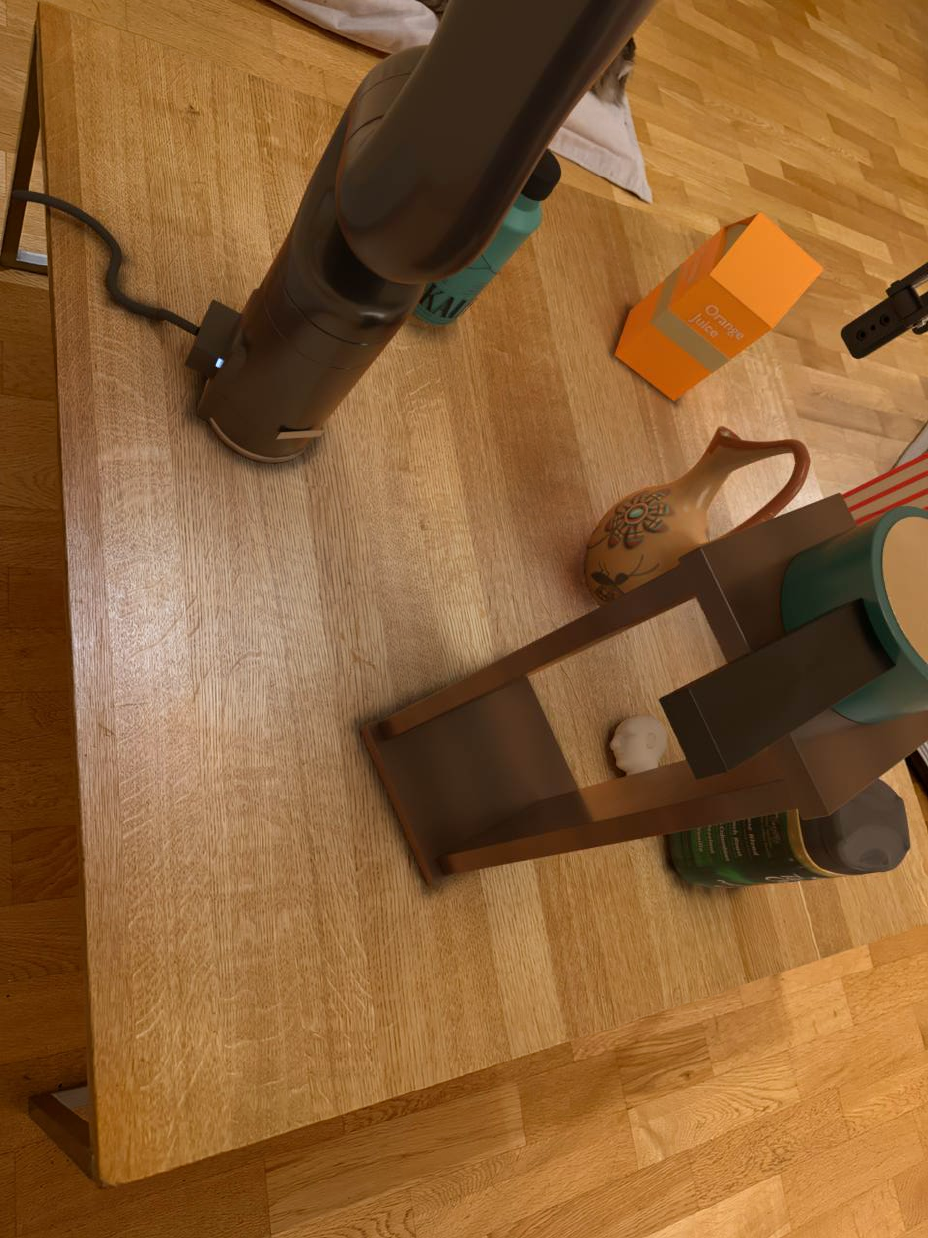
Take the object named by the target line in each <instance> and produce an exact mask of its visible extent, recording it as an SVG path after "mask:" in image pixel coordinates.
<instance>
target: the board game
mask: <svg viewBox="0 0 928 1238" xmlns="http://www.w3.org/2000/svg"><path fill="white" fill-rule="evenodd" d="M841 495H842V497H843V499H844V501H845V503H846V505H847V507H848V508H849V510H850V512H851V514H852V516H853V518H854V520H855V522H856V524H857V525H858V524H860V523H863V522H865V521H867V520H869V519H871V518H873V517H875V516H877V515H880V514H882V513H884V512H886V511H888V510H890V509H892V508H895V507H899V506H914V507H919V508H922V509H925V510H927V511H928V451H927V452H925V453H923V454H921V455H918V456H917V457H915V458H913V459H911V460H909V461H907V462H904V463H903V464H900V465H898V466H896V467H894V468H892V469H890V470H888V471H887V472H885V473H882V474H880V475H878V476H876V477H874V478H872V479H870V480H868V481H867V482H864V483H862V484H860V485H858V486H856V487H854V488H852V489H850V490H847V491H846V492H844V493H841Z"/></svg>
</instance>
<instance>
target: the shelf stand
mask: <svg viewBox="0 0 928 1238" xmlns="http://www.w3.org/2000/svg"><path fill="white" fill-rule="evenodd" d="M856 525H857V524H856V522H855V520H854V518H853V516H852V514H851V512H850V510H849V508H848V507H847V505H846V503H845V501H844V499H843V497H842V493H841V492H837V493H835V494H832V495H830V496H829V495H828V496H827V497H824V498H822V499H821V498H820V499H819V500H816V501H814V502H811V503H809V504H806V505H803V506H800V507H798V508H796V509H794V510H791V511H787V512H785V513H782V514H780V515H776V516H775V517H774V518H772V519H770V520H767V521H764V522H762V523H759V524H757V525H754V526H752V527H749V528H746V529H744V530H741V531H739V532H736V533H733V534H731V535H728V536H726V537H723V538H720V539H718V540H715V541H713V542H710V543H708V544H705V545H702V546H700V547H698V548H696V549H694V550H692V551H690V552H688V553H686V554H685V555H683V556H681V557H679V558H678V561H679V563H680V565H679V566H677V567H675V568H673V569H671V570H669V571H667V572H665V573H663V574H661V575H660V576H658V577H656V578H654V579H652V580H650V581H648V582H646V583H644V584H642V585H640V586H639V587H637V588H635V589H633V590H631V591H629V592H627V593H625V594H623V595H621V596H619V597H618V598H616V599H614V600H612V601H610V602H608V603H606V604H604V605H602V606H598V607H596V608H595V609H593V610H591V611H589V612H587V613H585V614H583V615H581V616H579V617H578V618H575V619H573V620H572V621H570V622H568V623H566V624H564V625H562V626H560V627H558V628H556V629H554V630H552V631H551V632H548V633H547V634H545V635H542V636H541V637H539V638H537V639H536V640H534V641H531V642H529V643H527V644H525V645H524V646H522V647H520V648H518V649H516V650H515V651H512V652H511V653H509V654H507V655H505V656H503V657H501V658H499V659H497V660H495V661H493V662H491V663H490V664H487V665H485V666H484V667H482V668H480V669H478V670H475V671H474V672H473V673H471V674H468V675H467V676H465V677H462V678H461V679H459V680H457V681H455V682H452V683H451V684H449V685H447V686H445V687H444V688H442V689H440V690H438V691H436V692H434V693H433V694H430V695H428V696H425V698H422V699H420V700H419V701H416V702H415V703H413V704H410V705H408V706H405V707H403V708H401V709H399V710H396V711H394V712H391V713H389V714H387V715H384V716H382V717H380V718H377V719H375V720H373V721H370V722H368V723H366V724H363V725H362V726H360V727H359V730H360V733H361V736H362V738H363V739H364V742H365V744H366V747H367V749H368V751H369V753H370V756H371V758H372V760H373V764H374V765H375V767H376V769H377V772H378V774H379V776H380V779H381V782H382V784H383V786H384V789H385V791H386V792H387V795H388V797H389V799H390V803H391V804H392V806H393V808H394V811H395V813H396V815H397V818H398V821H399V822H400V825H401V827H402V830H403V832H404V834H405V836H406V839H407V842H408V843H409V846H410V848H411V850H412V852H413V855H414V857H415V860H416V862H417V864H418V866H419V869H420V870H421V873H422V876H423V878H424V880H425V882H426V884H427V887H433V886H437V885H439V884H441V883H442V882H444V881H445V880H448V879H449V878H451V877H453V876H454V875H457V874H463V873H468V872H473V871H479V870H483V869H488V868H490V869H491V868H495V867H499V866H504V865H510V864H517V863H521V862H526V861H531V860H536V859H541V858H547V857H552V856H558V855H563V854H569V853H574V852H578V851H585V850H589V849H595V848H600V847H606V846H610V845H617V844H621V843H627V842H631V841H637V840H643V839H647V838H653V837H657V836H663V835H664V836H665V835H669V833H675V832H680V831H685V830H690V829H696V828H701V827H706V826H712V825H717V824H722V823H727V822H733V821H738V820H743V819H749V818H754V817H759V816H764V815H770V814H775V813H780V812H785V811H791V810H796V809H798V811H799V813H800V815H801V817H802V819H803V820H807V819H813V818H818V817H824V816H829V815H831V814H832V813H833V812H835V811H836V810H837V809H838V808H840V807H841V806H842V805H844V804H845V803H846V802H848V801H849V800H850V799H852V798H853V797H854V796H856V795H857V794H858V793H860V792H861V791H862V790H864V789H865V788H866V787H868V786H869V785H870V784H872V783H873V782H874V781H875V780H877V779H880V778H881V777H882V776H884V775H885V774H886V773H887V772H889V771H890V770H892V769H893V768H894V767H895V766H896V765H898V764H899V763H901V762H902V761H903V760H905V759H906V758H908V757H909V756H910V755H911V754H913V753H914V752H915V751H917V750H918V749H919V748H920V747H922V746H923V745H924V744H926V743H927V742H928V710H927V711H923V712H919V713H915V714H911V715H907V716H904V717H900V718H896V719H892V720H888V721H884V722H881V723H876V724H866V723H860V722H857V721H854V720H851V719H849V718H847V717H845V716H843V715H841V714H840V713H838V712H837V711H835V710H834V709H832V708H829V709H827V710H826V711H824V712H823V713H821V714H820V715H818V716H816V717H815V718H813V719H812V720H810V721H809V722H807V723H805V724H804V725H802V726H801V727H799V728H797V729H796V730H794V731H793V732H791V733H790V734H788V735H786V736H785V737H783V738H782V739H780V740H778V741H777V742H775V743H774V744H772V745H771V746H769V747H767V748H766V749H764V750H763V751H761V752H759V753H758V754H756V755H755V756H753V757H752V758H750V759H748V760H747V761H745V762H744V763H742V764H740V765H739V766H737V767H736V768H734V769H733V770H731V771H729V772H727V773H723V774H719V775H715V776H711V777H707V778H703V779H699V780H696V779H695V776H694V774H693V772H692V770H691V768H690V766H689V764H688V761H687V759H686V758H685V759H683V760H679V761H675V762H673V763H672V762H671V763H667V764H664V765H661V766H658V768H654V769H650V770H647V771H643V772H639V773H636V774H632V775H629V776H626V775H625V776H622V777H618V778H615V779H611V780H608V781H604V782H600V783H597V784H593V785H589V786H585V787H582V788H579V787H578V784H577V782H576V779H575V778H574V776H573V774H572V771H571V768H570V766H569V765H568V762H567V760H566V758H565V756H564V754H563V751H562V750H561V747H560V745H559V742H558V740H557V739H556V736H555V734H554V732H553V730H552V727H551V725H550V722H549V721H548V718H547V717H546V714H545V712H544V710H543V708H542V706H541V703H540V702H539V698H538V697H537V695H536V693H535V690H534V688H533V686H532V684H531V681H530V679H529V677H531V676H534V675H535V674H537V673H539V672H542V671H543V670H546V669H547V668H550V667H553V666H554V665H556V664H558V663H560V662H563V661H565V660H567V659H569V658H571V657H574V656H575V655H578V654H580V653H582V652H584V651H587V650H588V649H590V648H592V647H594V646H596V645H598V644H602V643H603V642H604V641H607V640H609V639H612V638H613V637H616V636H617V635H620V634H622V633H624V632H626V631H628V630H630V629H633V628H634V627H636V626H640V625H641V624H644V623H645V622H647V621H650V620H652V619H653V618H656V617H658V616H660V615H663V614H665V613H667V612H669V611H671V610H673V609H674V608H677V607H679V606H681V605H683V604H686V603H687V602H689V601H692V600H694V599H696V601H697V603H698V605H699V607H700V609H701V611H702V613H703V615H704V617H705V620H706V622H707V624H708V626H709V628H710V630H711V632H712V634H713V636H714V638H715V641H716V642H717V645H718V646H719V649H720V651H721V653H722V655H723V657H724V659H725V661H726V664H727V663H729V662H731V661H732V660H734V659H736V658H738V657H740V656H742V655H744V654H746V653H748V652H750V651H752V650H754V649H756V648H758V647H759V646H761V645H763V644H765V643H767V642H769V641H771V640H773V639H775V638H777V637H779V636H781V635H783V634H785V630H784V626H783V620H782V613H781V590H782V584H783V579H784V576H785V573H786V571H787V569H788V567H789V565H790V563H791V562H792V561H793V559H794V558H795V557H796V556H797V555H798V554H799V553H800V552H802V551H804V550H805V549H807V548H809V547H811V546H814V545H816V544H818V543H820V542H822V541H824V540H826V539H828V538H831V537H833V536H835V535H837V534H839V533H841V532H843V531H846V530H848V529H850V528H852V527H854V526H856Z"/></svg>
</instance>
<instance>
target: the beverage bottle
mask: <svg viewBox="0 0 928 1238" xmlns="http://www.w3.org/2000/svg"><path fill="white" fill-rule="evenodd" d="M561 177H562V168H561V164H560V163H559V161H558V159H557V157H556V155H555V154H554V153H553V152H552V151H551V150H550V149H549V148H547V149H546V150H545V152H544V154H543V155H542V157H541V159H540V160H539V162H538V164H537V165H536V167H535V169H534V170H533V172H532V174H531V175H530V177H529V179H528V180H527V182H526V184H525V185H524V187H523V189H522V191H521V192H520V194H519V196H518V197H517V199H516V201H515V202H514V204H513V206H512V208H511V209H510V211H509V213H508V215H507V216H506V218H505V220H504V221H503V223H502V225H501V227H500V228H499V230H498V232H497V233H496V235H495V236H494V238H493V240H492V241H491V243H490V244H489V246H488V247H487V248H486V249H485V251H484V252H483V253H482V254H481V255H480V256H479V257H478V258H477V259H476V260H475V261H474V262H473V263H471V264H470V265H469V266H468V267H466V268H464V269H463V270H461V271H459V272H458V273H456V274H455V275H452V276H450V277H447V278H445V279H442V280H440V281H435V282H431V283H426V285H425V288H424V291H423V293H422V296H421V298H420V300H419V302H418V304H417V306H416V308H415V310H414V311H413V313H412V314H413V315H414V316H416V317H417V318H418V319H420V320H421V321H423V322H425V323H426V324H428V325H432V326H436V327H442V326H443V327H444V326H447V325H449V324H450V325H451V324H453V323H454V322H457V321H458V319H459V318H461V317H462V316H463V315H464V314H465V312H466V311H468V309H469V308H470V307H471V306H472V305H473V304H474V303H475V302H476V300H478V298H479V296H481V294H483V292H484V290H485V289H486V288H487V286H489V285H490V284H491V283H492V280H493V279H494V278H495V277H496V276H497V275H501V270H502V269H503V267H504V266H505V265H506V264H507V263H508V262H509V260H510V259H512V257H513V256H514V255H515V253H516V252H517V251H518V250H519V249H520V248H521V247H522V245H523V244H524V243H525V242H526V241H527V240H528V239H529V238H530V236H531V235H532V234H533V233H535V232H536V231H537V230H538V228H539V227H540V226H541V224H542V220H543V216H544V215H543V205H542V202H543V201H545V200H547V199H548V198H549V197H550V195H551V194H552V193H553V190H554V189H555V188H556V186H557V184H558V183H559V182H560V180H561Z"/></svg>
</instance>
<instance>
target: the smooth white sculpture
mask: <svg viewBox="0 0 928 1238" xmlns="http://www.w3.org/2000/svg"><path fill="white" fill-rule="evenodd" d="M668 737H669V735H668V731H667V728H666V726H665V724H664V723H663V722H662V721H661V720H659V719H658V718H656V717H654V716H652V715H646V714H635V715H633V716H629V717H628V718H626V719H625V720H623V721H622V722H620V724H618V726H617V727H616V729H615V731H614V736H613V737H612V740H611V741H610V742H609V747H610V750H611V751H613V756H614V758H615V760H616V761H615V765H616V767H617V768H618V769H620V770H622V771H623V772H625V773H626V775H625V776H629V775H632V774H636V773H639V772H643V771H647V770H650V769H654V768H658V767H659V761H660V760H661V758H662V757H663V755H664V754H665V752H666V749H667V747H668V740H669V738H668Z"/></svg>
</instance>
